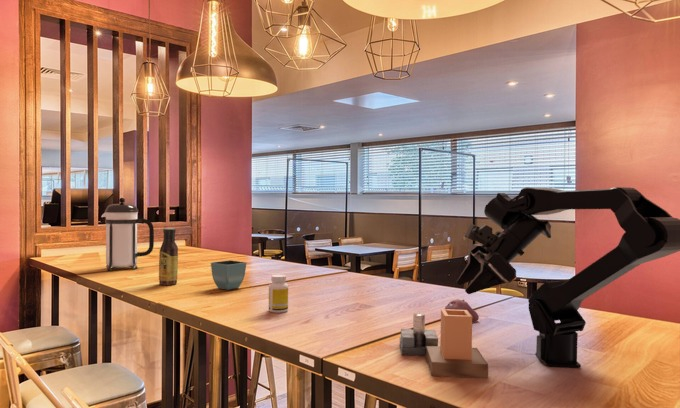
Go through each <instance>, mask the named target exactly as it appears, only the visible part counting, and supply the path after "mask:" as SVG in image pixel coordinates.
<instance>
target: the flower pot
mask: <svg viewBox="0 0 680 408" xmlns="http://www.w3.org/2000/svg"><path fill="white" fill-rule="evenodd" d="M210 268H211V275H212V279H213V282H214V284H215V285H216V287H217V288H218V289H222V290H226V291H229V290H234V289H239V288H240V287H241V285H242V284H243V281H244V278H245V275H246V268H247V262H245V261H239V260H232V259H231V260H222V261H221V260H220V261H215V262H213V261H212V262H210Z"/></svg>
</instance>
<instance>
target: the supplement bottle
mask: <svg viewBox="0 0 680 408" xmlns="http://www.w3.org/2000/svg"><path fill="white" fill-rule="evenodd" d="M286 280H287V275H285V274H274V275H271V283H269V284H268V311H269V312H270V313H275V314H276V313H277V314H278V313H279V314H280V313H286V312H287V311H288V310H289V285H288V283H286Z"/></svg>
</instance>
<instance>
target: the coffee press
mask: <svg viewBox="0 0 680 408" xmlns="http://www.w3.org/2000/svg"><path fill="white" fill-rule="evenodd" d="M125 201H126V199H125V198H123V197H120V198H119V200H118V202H119V203H112V204H109V205H107V207H106V209H105V210H104V213H102V215H101V218H105V222H104V223H105V264H106V266H105V267H106V268H107V269H106V270H107V272H113V270H114V269H115V268H125V267H130V268H131V269H132V270H133V271H134V270H138V269H139V268H138V267H139V266H138V265H137V263H138V258H139V257H145V256H148V255H150V254H151V253H152V252H153V249H154V244H155V237H154V236H155V230H154V225H153V223H152V222H151V221H150V220H149V219H146V218H138V213H139V209H138V208H137V206H136V205H134V204H130V203H125ZM139 223H142V224H146V225H147V226H148V230H149V232H148V236H149V237H148V241H149V242H148V245H149V246H148V248H147V250H146V251H142V252H138V224H139Z"/></svg>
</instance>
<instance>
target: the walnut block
mask: <svg viewBox="0 0 680 408" xmlns="http://www.w3.org/2000/svg"><path fill="white" fill-rule="evenodd" d="M425 359H426V363H427V365H428V368H429V369H428V370H429V371H430V375H431V376H433V377H452V378H453V377H454V378H455V377H456V378H478V379H479V378H480V379H481V378H482V379H489V376H488V375H489V364H488V362H487V361H486V359H485V357H484V356H483V354H482V353H481V352H480V350H479V348H478V347H472V360H465V359H444V357H443V355H442V353H441V350H440V346H439V345H438V346H426V356H425Z"/></svg>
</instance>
